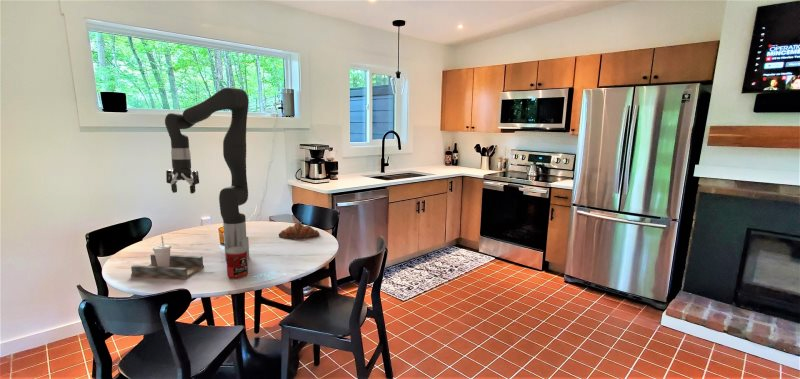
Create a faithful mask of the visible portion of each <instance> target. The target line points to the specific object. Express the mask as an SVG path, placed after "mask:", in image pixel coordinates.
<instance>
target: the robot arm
mask: <svg viewBox="0 0 800 379" xmlns="http://www.w3.org/2000/svg"><path fill="white" fill-rule="evenodd" d="M223 110H228V111H231V121H230V125H229V126H228V129H227V131H226V133H225V135H224V138H223V142H222V149H223V150H222V153H223V154H222V155H223V159H224V162H225V163H226V165H227V167H228V169H229V171H230V175H231V184H230V185H231V186H226V187H224V188H222V189H221V190H220V192H219V194H218V201H219V210H220V217H221V218H222V222H223V223H222V226H223V242H224V257H225V259H224V260H225V261H226V262H227V260H226V250H227V249H229V248H231V247H238V246H240V247H245V248H247V259H248V258H249V257H250V244H249V243H250V242H249V236H247V224H246V222H247V221H246V220H247V218H246V215H245V214H244V213H241V212H240V209H239V206H240V207H241V206H242V205H244V204H246V203H247V201H248V200H249V188H248V187H249V186H248V178H247V121H248V113H249V112H248V111H249V96H248V93H247V92H246V91H245V90H244V89H242V88H238V87H229V86H227V87H222V89H219V91H217V92H215V93H214V94H213V95H212V96H210V97H208V98H207V99H205V100H203V101H202V102H199V103H197V104H194V105H191V106H190V107H187V108H185V109H184V110H183V111H182V112H183V113H179V112H178V113H177V112H169V113H167V115H166V116H165V119H164V125H165V127H166V131H167V133H168V135H169V139H170V147H171V148H170V149H171V150H170V151H171V152H170V154H171V156H170V158H171V168H172V169H168V170H166V172H165V175H166V177H165V178H166V183H167V184H169V185H170V186H171V192H172V193H173V194H175V193H177V192H178V185H177V183H178V182H179V181H186V182H187V183H188V184H189V192H190V194H192V195H193V194H195V192H196V185H198V184H200V179H199V178H200V177H199V171H198V170H191V169H192V163H191V162H192V161H191V160H192V159H191V157H192V156H191V151H190V150H191V149H190V142H189V140H190V138H189V136H188V135H186V134H184V133H183V134H182V131H181V130H187V129H190V128H191V127H193V126H195V125H196V124H198V123H200V122H203V121H205V120H207V119H209V118H210V117H211V115H213V114H214V113H216V112H219V111H223ZM173 175H174V176H173Z"/></svg>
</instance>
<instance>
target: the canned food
mask: <svg viewBox="0 0 800 379" xmlns="http://www.w3.org/2000/svg"><path fill="white" fill-rule="evenodd" d="M226 260H227V261H226ZM226 260H225V261H226V275H227V277H228V278H229V279H231V280H238V279H239V280H240V279H242V278H243V279H244V278H245V277H247V276H248V274H249V272H248V271H249V270H248V269H249V268H248V258H247V248H245V247H240V246H238V247H231V248H229V249H227V250H226Z"/></svg>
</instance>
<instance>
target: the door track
mask: <svg viewBox="0 0 800 379" xmlns="http://www.w3.org/2000/svg"><path fill="white" fill-rule="evenodd" d="M203 258H204V257H203V256H200V255H199V256H197V255H184V254H183V255H182V254H170V263H169V267H158V266H157V262H156V258H155V254H154V253H151V254H150V264H148V265H138V264H135V265H131V267H130V268H131V274H130V277H132V278H147V279H148V278H150V279H163V280H164V279H165V280H181V281H182V280H186V279H188V278H189V277H191V276H192V275H194V274H196V273H197V272H199V271H201V270H202V269H203V268H204V267H205V265H204V261H203V260H204V259H203Z"/></svg>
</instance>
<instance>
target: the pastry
mask: <svg viewBox="0 0 800 379" xmlns="http://www.w3.org/2000/svg"><path fill="white" fill-rule="evenodd" d="M315 236H316V237H318V236H320V232H319V231H318V230H316V229H314V228H313V227H312V226H310V225H305V226H304V225H303V224H302V223H301V222H300V221H297V222H295V223H294V225H292V226H288V227H287V228H285V229H283V230H281V231H280V232H279V233H278V237H279V238H282V239H291V240H304V238H305V239H309V238H315Z"/></svg>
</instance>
